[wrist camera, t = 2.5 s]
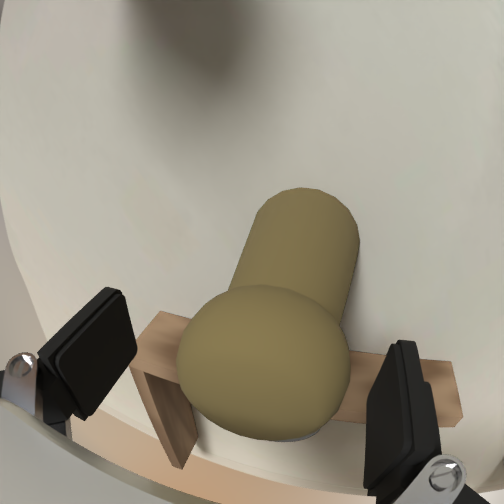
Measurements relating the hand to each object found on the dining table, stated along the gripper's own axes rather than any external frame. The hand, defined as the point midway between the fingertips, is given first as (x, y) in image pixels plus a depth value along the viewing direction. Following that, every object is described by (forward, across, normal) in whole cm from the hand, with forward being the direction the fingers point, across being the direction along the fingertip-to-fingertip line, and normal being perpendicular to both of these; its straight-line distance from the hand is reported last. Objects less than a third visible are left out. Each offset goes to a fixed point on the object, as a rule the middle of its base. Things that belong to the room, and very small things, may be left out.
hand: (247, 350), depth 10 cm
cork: (+8, -1, 0) cm, 9 cm away
